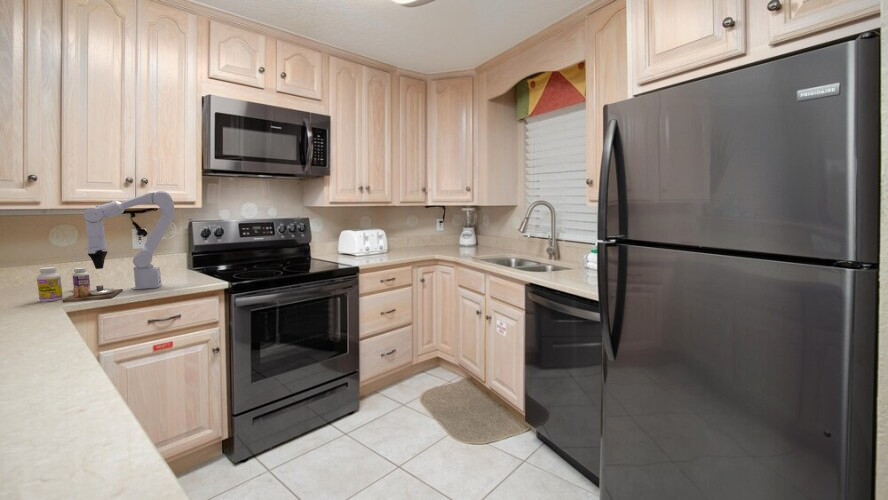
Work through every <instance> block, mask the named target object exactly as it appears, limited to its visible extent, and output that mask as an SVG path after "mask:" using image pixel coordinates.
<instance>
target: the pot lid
mask: <svg viewBox="0 0 888 500" xmlns="http://www.w3.org/2000/svg"><path fill="white" fill-rule="evenodd" d="M95 287H96V288H95V289H88V287H87V286H86V287H84V292H85V296H94V295H104V294H110V293H113V292H115V291H114V289H115V288H111V287H109V288H108V287H107V288H104V284H101V285H96V286H95ZM72 289H73V294H74V297H80V290H79V288H74V287H73V288H72Z"/></svg>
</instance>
